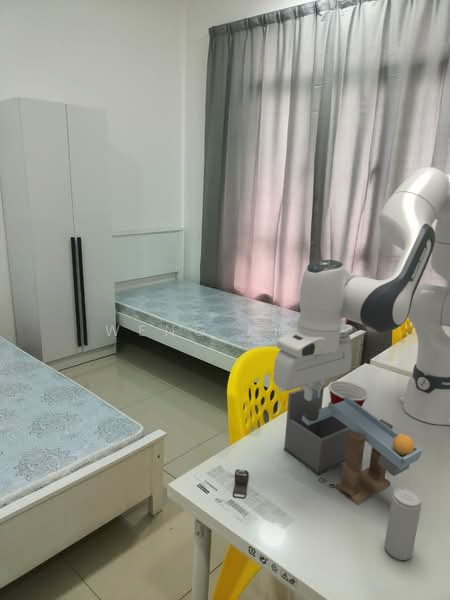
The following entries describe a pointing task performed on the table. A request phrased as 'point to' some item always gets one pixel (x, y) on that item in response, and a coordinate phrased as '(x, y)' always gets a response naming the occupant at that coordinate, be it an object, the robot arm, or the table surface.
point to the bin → (314, 435)
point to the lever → (366, 432)
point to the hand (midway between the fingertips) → (311, 398)
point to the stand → (357, 481)
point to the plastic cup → (347, 392)
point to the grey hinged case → (241, 483)
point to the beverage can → (402, 523)
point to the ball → (403, 444)
